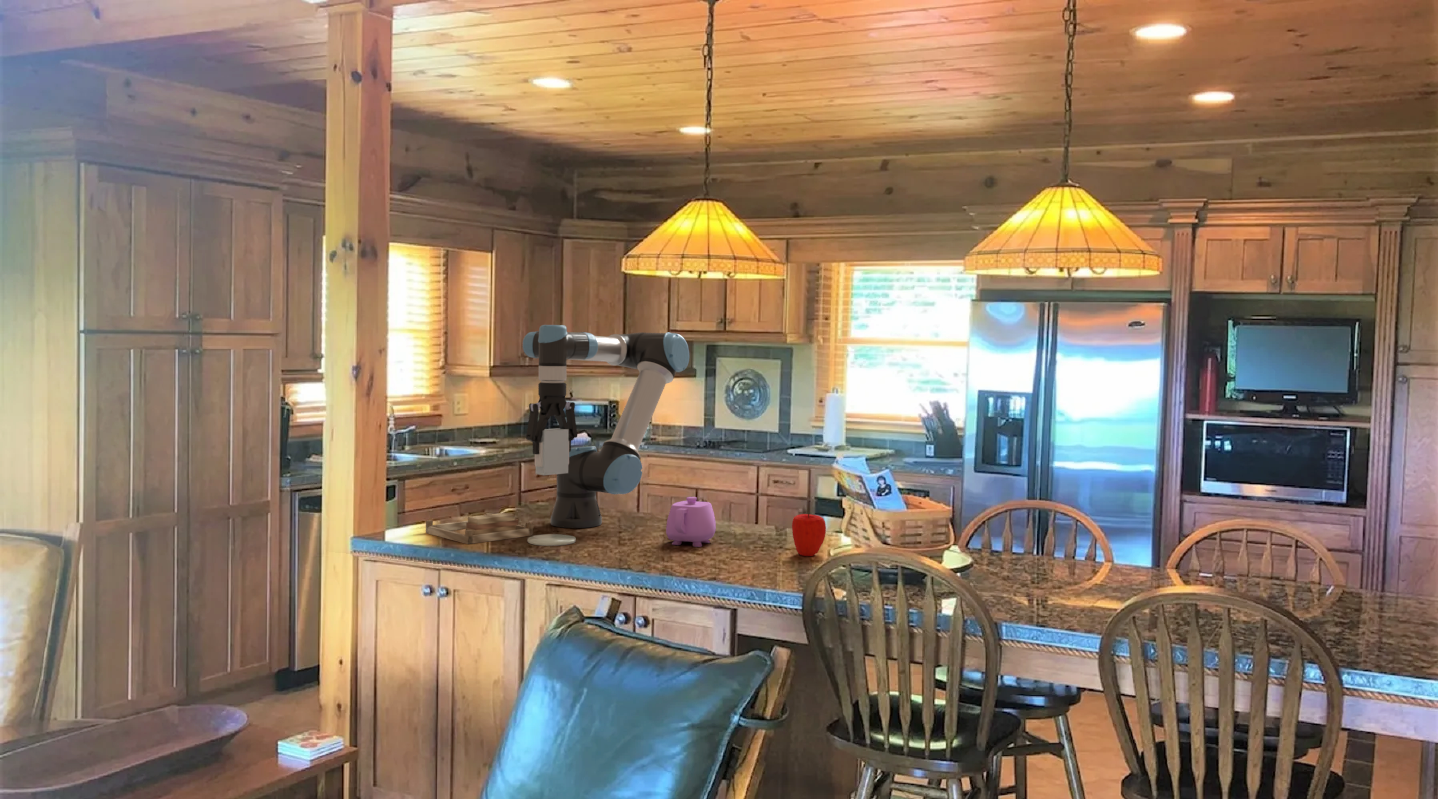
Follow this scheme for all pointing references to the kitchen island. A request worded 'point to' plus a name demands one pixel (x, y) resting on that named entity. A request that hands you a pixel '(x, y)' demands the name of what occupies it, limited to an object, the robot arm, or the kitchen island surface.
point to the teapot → (691, 522)
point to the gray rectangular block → (554, 452)
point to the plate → (551, 540)
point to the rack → (468, 538)
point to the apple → (808, 533)
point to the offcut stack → (491, 523)
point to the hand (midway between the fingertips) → (551, 465)
